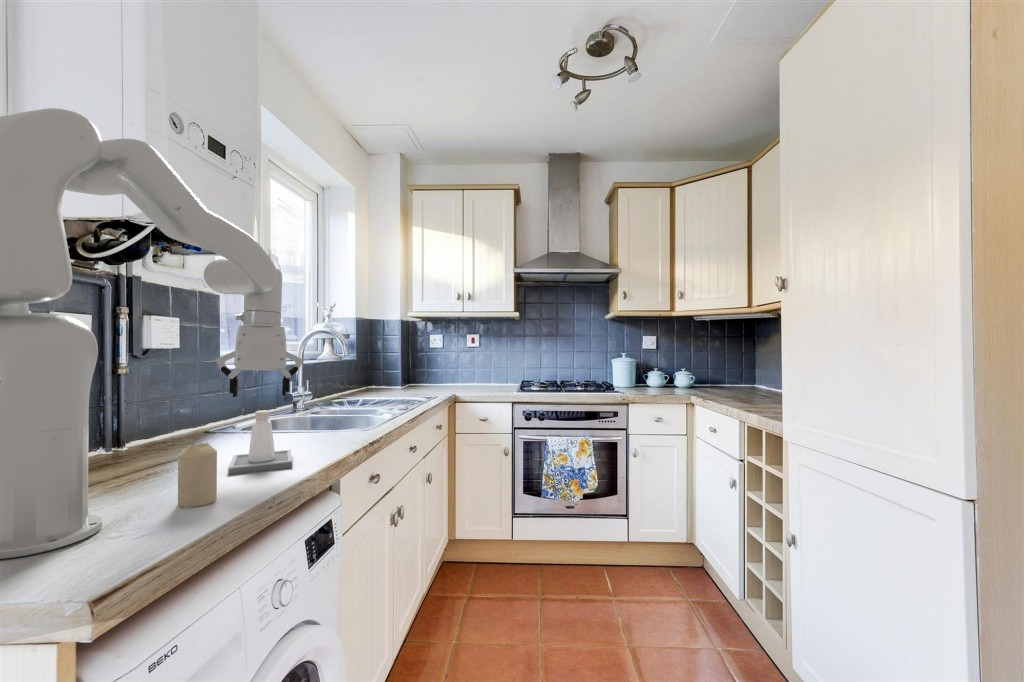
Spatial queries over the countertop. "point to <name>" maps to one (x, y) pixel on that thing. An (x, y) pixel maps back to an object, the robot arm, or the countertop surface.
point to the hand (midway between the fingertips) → (260, 396)
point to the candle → (197, 476)
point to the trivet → (260, 463)
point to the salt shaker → (261, 439)
